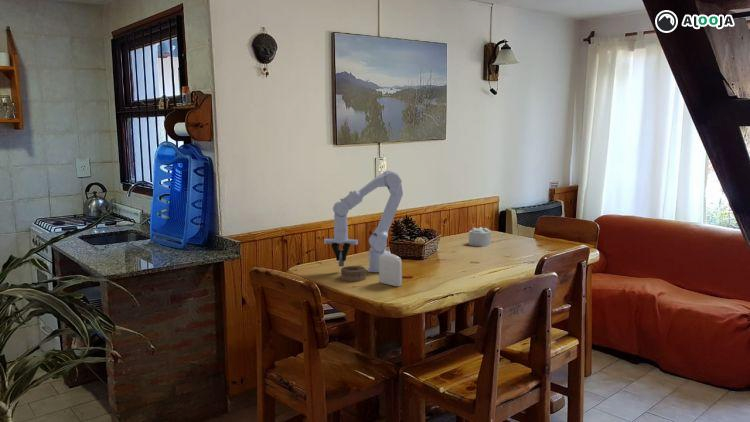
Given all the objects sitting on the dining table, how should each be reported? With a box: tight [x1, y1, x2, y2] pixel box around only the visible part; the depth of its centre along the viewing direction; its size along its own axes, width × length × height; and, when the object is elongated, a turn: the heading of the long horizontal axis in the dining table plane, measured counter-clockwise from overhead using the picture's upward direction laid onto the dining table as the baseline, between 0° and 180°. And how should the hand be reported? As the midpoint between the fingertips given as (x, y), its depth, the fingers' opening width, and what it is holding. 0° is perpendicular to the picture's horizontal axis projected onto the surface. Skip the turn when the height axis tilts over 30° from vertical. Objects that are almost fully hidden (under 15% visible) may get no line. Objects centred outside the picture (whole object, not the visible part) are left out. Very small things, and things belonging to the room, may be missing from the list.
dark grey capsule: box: [338, 249, 345, 268], centre depth 253 cm, size 2×2×7 cm
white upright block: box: [378, 253, 403, 287], centre depth 234 cm, size 10×4×12 cm, turn 47°
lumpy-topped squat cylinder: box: [468, 226, 492, 247], centre depth 315 cm, size 10×13×9 cm
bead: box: [340, 265, 367, 282], centre depth 243 cm, size 10×10×4 cm
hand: (341, 260), depth 253 cm, fingers closed on dark grey capsule, 2 cm apart
